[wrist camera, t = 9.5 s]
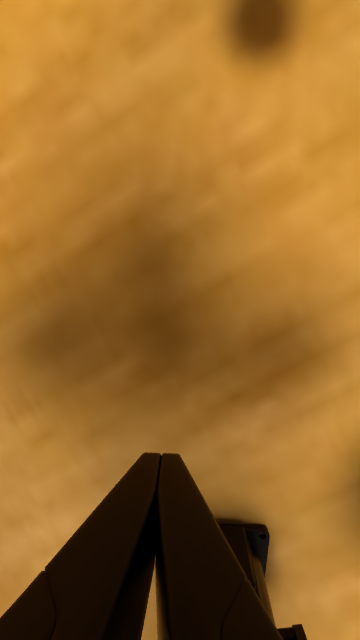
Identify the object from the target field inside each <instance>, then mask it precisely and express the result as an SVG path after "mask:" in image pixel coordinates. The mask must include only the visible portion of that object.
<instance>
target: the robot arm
mask: <svg viewBox="0 0 360 640" xmlns="http://www.w3.org/2000/svg"><path fill="white" fill-rule="evenodd" d="M262 533H263V534H262ZM269 537H270V536H269V532H268V529H267V528H266V527H265V526H255V525H231V524H217V522H216V520H215V518H214V516H213V514H212V513H211V511H210V509H209V507H208V505H207V504H206V502H205V500H204V498H203V496H202V495H201V493H200V491H199V489H198V487H197V485H196V484H195V482H194V480H193V478H192V476H191V475H190V473H189V471H188V469H187V467H186V466H185V464H184V462H183V460H182V458H181V457H180V455H179V454H172V453H164V454H162V456H161V454H160V453H147V452H146V453H143V454H142V455H141V456H140V458H139V459H138V460H137V461H136V462H135V463H134V465H133V466H132V467H131V468H130V469H129V470H128V472H127V473H126V474H125V475H124V476H123V477H122V479H121V480H120V481H119V482H118V483H117V484H116V485H115V487H114V488H113V489H112V490H111V491H110V492H109V494H108V495H107V496H106V497H105V498H104V499H103V501H102V502H101V503H100V504H99V505H98V506H97V508H96V509H95V510H94V511H93V512H92V513H91V515H90V516H89V517H88V518H87V519H86V520H85V522H84V523H83V524H82V525H81V526H80V527H79V529H78V530H77V531H76V532H75V533H74V534H73V536H72V537H71V538H70V539H69V540H68V541H67V543H66V544H65V545H64V546H63V547H62V548H61V550H60V551H59V552H58V553H57V554H56V555H55V557H54V558H53V559H52V560H51V561H50V562H49V564H48V565H47V566H46V567H45V571H41V572H40V574H39V575H38V576H37V577H36V578H35V580H34V581H33V582H32V583H31V584H30V585H29V587H28V588H27V589H26V590H25V591H24V592H23V593H22V594H21V596H20V597H19V598H18V599H17V600H16V601H15V602H14V603H13V604H12V606H11V607H10V608H9V609H8V610H7V611H6V612H5V613H4V614H3V616H2V617H1V618H0V640H141V636H142V630H143V625H144V619H145V614H146V608H147V603H148V598H149V592H150V587H151V581H152V576H153V570H154V563H155V554H156V603H157V633H158V640H307V638H306V635H305V632H304V629H303V627H302V624H297V625H292V627H289V628H280V629H277V628H276V626H275V622H274V618H273V613H272V609H271V604H270V600H269V596H268V591H267V587H266V583H265V570H266V561H267V553H268V545H269Z"/></svg>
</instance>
